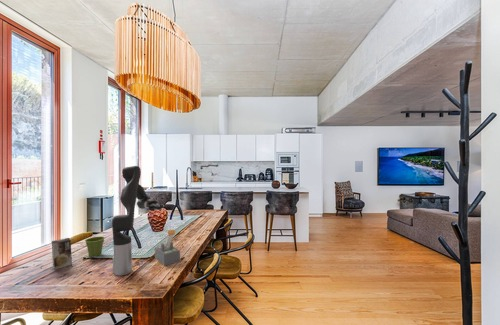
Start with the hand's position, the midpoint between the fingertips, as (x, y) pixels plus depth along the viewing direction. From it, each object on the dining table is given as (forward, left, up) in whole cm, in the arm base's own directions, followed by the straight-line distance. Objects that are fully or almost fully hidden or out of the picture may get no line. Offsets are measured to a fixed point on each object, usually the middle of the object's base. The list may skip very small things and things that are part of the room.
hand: (159, 208), depth 170 cm
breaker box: (+9, -6, -32) cm, 34 cm away
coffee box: (-50, -31, -32) cm, 67 cm away
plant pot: (-45, -12, -32) cm, 56 cm away
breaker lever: (+9, -6, -24) cm, 26 cm away
